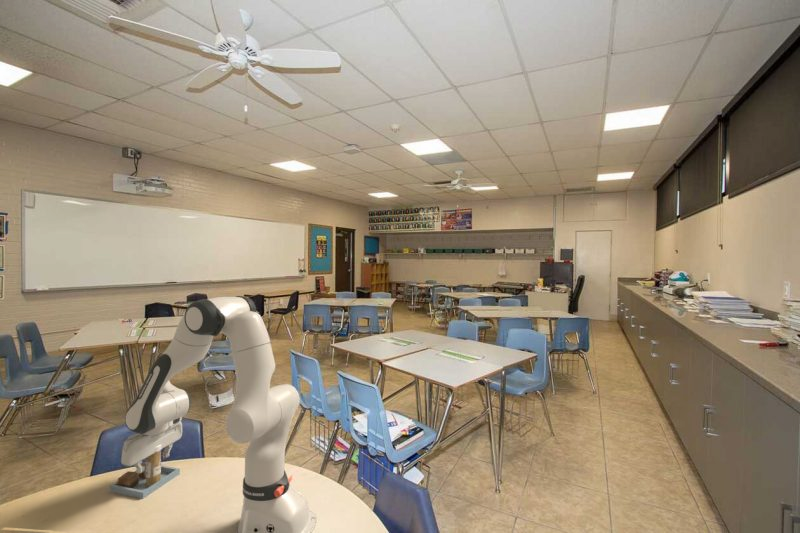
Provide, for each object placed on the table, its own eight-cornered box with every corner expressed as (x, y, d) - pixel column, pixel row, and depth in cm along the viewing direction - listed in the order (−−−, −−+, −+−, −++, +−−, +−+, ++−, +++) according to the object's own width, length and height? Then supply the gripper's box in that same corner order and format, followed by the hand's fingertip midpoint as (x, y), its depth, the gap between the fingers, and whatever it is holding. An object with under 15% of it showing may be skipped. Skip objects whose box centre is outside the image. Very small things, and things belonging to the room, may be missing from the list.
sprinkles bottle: (160, 484, 120) (161, 445, 120) (144, 489, 117) (145, 449, 118) (161, 478, 124) (161, 440, 124) (145, 482, 121) (146, 443, 121)
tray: (179, 475, 126) (179, 468, 126) (143, 500, 113) (143, 492, 113) (148, 469, 130) (149, 463, 130) (109, 493, 116) (109, 485, 116)
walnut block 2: (156, 473, 126) (156, 462, 126) (144, 479, 123) (144, 468, 123) (150, 470, 128) (150, 459, 128) (138, 476, 125) (138, 465, 125)
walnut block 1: (138, 483, 121) (138, 471, 121) (129, 490, 117) (129, 478, 117) (127, 482, 121) (127, 471, 121) (117, 490, 117) (117, 478, 117)
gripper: (131, 440, 110) (131, 483, 110) (185, 413, 130) (185, 450, 130) (116, 437, 111) (115, 480, 111) (172, 412, 131) (171, 448, 131)
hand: (153, 464), depth 121 cm, fingers open, 8 cm apart
